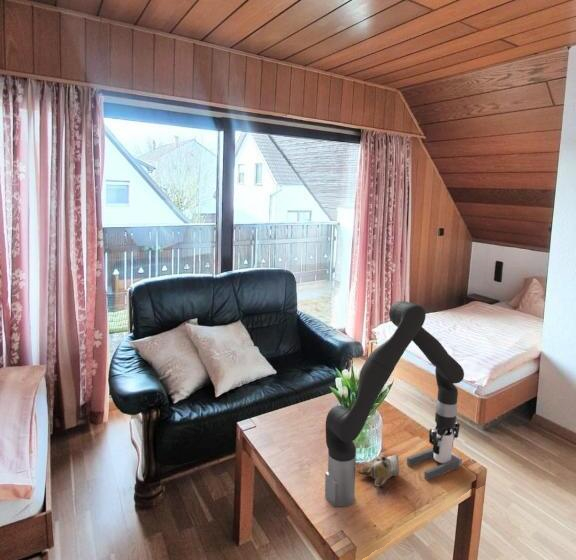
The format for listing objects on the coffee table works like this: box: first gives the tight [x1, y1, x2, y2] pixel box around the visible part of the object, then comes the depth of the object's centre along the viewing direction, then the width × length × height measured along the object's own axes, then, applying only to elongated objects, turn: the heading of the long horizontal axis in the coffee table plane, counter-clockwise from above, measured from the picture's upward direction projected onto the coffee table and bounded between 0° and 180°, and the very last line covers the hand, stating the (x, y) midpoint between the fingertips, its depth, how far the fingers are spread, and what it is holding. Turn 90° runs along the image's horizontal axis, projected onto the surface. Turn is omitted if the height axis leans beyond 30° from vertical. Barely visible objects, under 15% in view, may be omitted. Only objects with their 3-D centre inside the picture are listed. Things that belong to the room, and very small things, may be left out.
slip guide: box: [406, 447, 463, 481], centre depth 166 cm, size 18×10×3 cm, turn 118°
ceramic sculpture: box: [357, 454, 400, 489], centre depth 159 cm, size 11×9×15 cm
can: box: [432, 433, 454, 464], centre depth 167 cm, size 6×6×12 cm
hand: (442, 450), depth 167 cm, fingers closed on can, 6 cm apart
